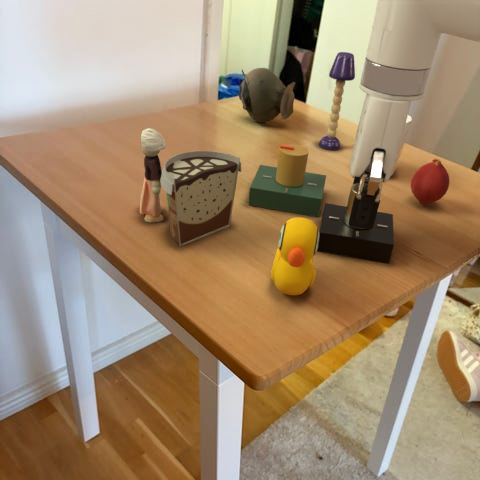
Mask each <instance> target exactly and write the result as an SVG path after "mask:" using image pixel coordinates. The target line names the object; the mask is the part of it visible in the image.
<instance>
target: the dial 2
mask: <svg viewBox="0 0 480 480" xmlns="http://www.w3.org/2000/svg"><path fill="white" fill-rule="evenodd" d="M365 184H366V185H368V184H367V183H364V186H365ZM358 188H359V183H356V184H353V183H352V184H351V187H350V191H349V195H348V200H347V204H346V207H347V208H346V212H345V217H344V222H345V223H346V224H347V225H348V226H350V225H349V218H350V214H351V210H352V205H353V201H354V197H355V196H357V193H358ZM350 227H352V228H356V229H365V228H360V227H354V226H350Z"/></svg>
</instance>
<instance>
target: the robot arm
mask: <svg viewBox="0 0 480 480" xmlns="http://www.w3.org/2000/svg"><path fill="white" fill-rule="evenodd" d="M373 17H374V18H373V22H372V26H371V31H370V35H369V40H368V45H367V50H366V56H365V59H364V63H363V69H362V73H361V78H360V83H359V89H360V90H361V91H362V92H363V93H365V97H364V100H363V105H362V108H361V112H360V115H359V120H358V124H357V125H358V126H357V129H356V134H355V138H354V143H353V146H352V151H351V156H350V165H349V175H350V177H351V178H353V182H352V185H353V184H356V183H359V188H358V193H357V196H355V197H354V201H353V205H352V210H351V214H350V218H349V225H350V226H354V227H360V228H365V229H372V228H373V226H374V222H375V219H376V215H377V212H379V209H380V208H379V207H380V204H381V194H382V189H383V184H384V183H386V182H388V181H389V179H390V177H391V176H390V174H391V172H392V168H393V165H394V162H395V159H396V155H397V152H398V149H399V145H400V142H401V138H402V134H403V131H404V127H405V123H406V120H407V116H408V115H409V111H410V108H411V104H412V102H415V101H419V100H421V99H423V98H424V93H425V90H426V88H427V83H428V80H429V76H430V74H431V69H432V66H433V62H434V59H435V55H436V52H437V49H438V46H439V42H440V39H441V35H442V34H446V35H450V36H453V37H457V38H462V39H465V40H469V41H473V42H477V43H480V0H377V4H376V8H375V13H374V16H373ZM364 183H367V184H368V185H366V184H365V186H364Z"/></svg>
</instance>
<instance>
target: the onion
mask: <svg viewBox="0 0 480 480" xmlns="http://www.w3.org/2000/svg"><path fill="white" fill-rule="evenodd" d="M449 187H450V175H449V173H448V171H447V169H446V168H445V166H444V165H443V164H442V161H441V159H440V158H438V157H436V158H433V159H432V161H430V162H428V163H425V164H423V165H421V166H420V167H419V168H418V169H417V170H416V171H415V172H414V174H413V175H412V177H411V180H410V190H411V193H412V195H413V196H414V198H415V199H416V200H417V201H418V203H419V205H421V206H427V205H431V204H434V203H436V202H438V201H440V200H441V199H442V198H444V197H445V195H446V194H447V192H448V190H449Z"/></svg>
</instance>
